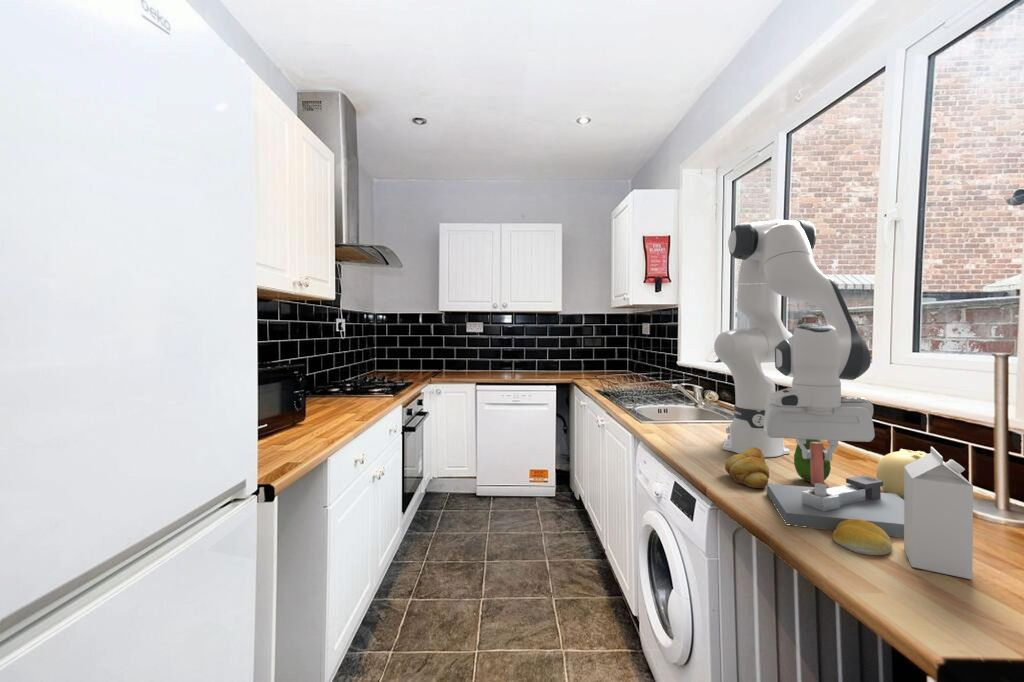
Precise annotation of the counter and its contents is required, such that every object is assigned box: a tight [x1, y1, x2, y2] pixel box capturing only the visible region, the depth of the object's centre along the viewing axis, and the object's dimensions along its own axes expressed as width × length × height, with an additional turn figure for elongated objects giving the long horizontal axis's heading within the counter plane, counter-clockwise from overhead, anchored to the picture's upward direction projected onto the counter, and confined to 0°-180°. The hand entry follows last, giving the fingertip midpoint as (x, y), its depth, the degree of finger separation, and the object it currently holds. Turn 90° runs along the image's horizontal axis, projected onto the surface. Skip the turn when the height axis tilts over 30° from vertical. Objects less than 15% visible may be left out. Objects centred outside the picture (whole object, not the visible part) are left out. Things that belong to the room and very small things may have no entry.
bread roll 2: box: [832, 519, 893, 556], centre depth 80 cm, size 8×9×4 cm
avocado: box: [793, 439, 832, 483], centre depth 111 cm, size 8×8×12 cm
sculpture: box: [875, 448, 928, 499], centre depth 101 cm, size 11×12×11 cm
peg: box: [810, 442, 825, 486], centre depth 97 cm, size 2×2×9 cm
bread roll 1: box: [724, 447, 770, 489], centre depth 113 cm, size 13×10×8 cm
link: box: [802, 483, 865, 512], centre depth 92 cm, size 13×5×2 cm, turn 108°
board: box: [766, 475, 904, 538], centre depth 92 cm, size 17×25×7 cm
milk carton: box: [903, 446, 974, 580], centre depth 73 cm, size 7×7×19 cm
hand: (816, 459), depth 97 cm, fingers closed on peg, 2 cm apart
